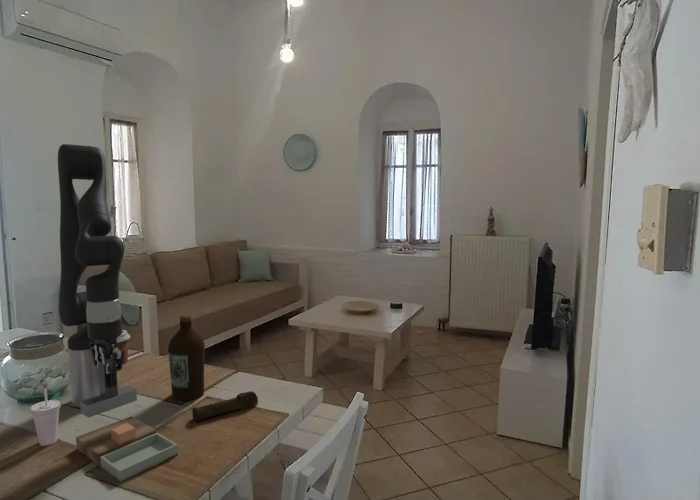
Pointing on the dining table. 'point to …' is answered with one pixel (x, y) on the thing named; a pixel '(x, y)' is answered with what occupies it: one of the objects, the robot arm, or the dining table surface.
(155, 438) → the box
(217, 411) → the hand tool
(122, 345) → the coffee cup
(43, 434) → the smoothie
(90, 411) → the scraper
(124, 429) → the tile
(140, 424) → the brown slab
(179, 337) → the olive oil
